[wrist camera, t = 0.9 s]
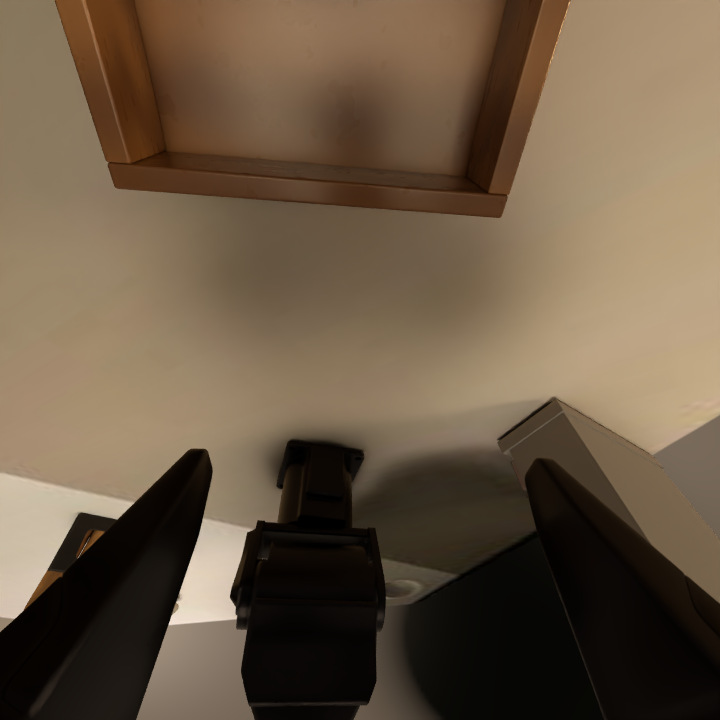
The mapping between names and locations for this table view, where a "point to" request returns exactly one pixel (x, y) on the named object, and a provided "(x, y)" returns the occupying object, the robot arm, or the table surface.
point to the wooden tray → (316, 97)
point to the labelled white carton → (621, 486)
